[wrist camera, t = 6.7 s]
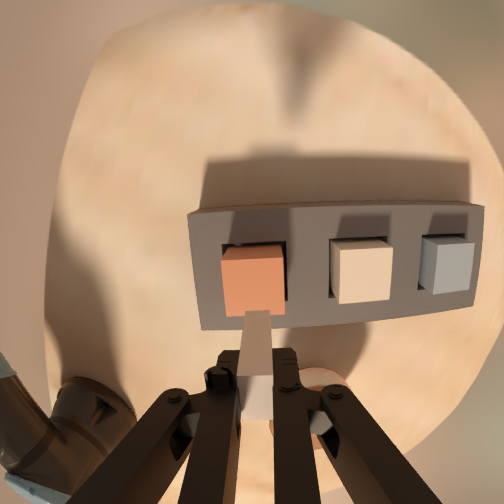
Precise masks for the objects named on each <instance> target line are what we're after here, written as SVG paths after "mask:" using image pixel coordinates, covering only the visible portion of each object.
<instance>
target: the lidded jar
mask: <svg viewBox="0 0 504 504" xmlns="http://www.w3.org/2000/svg"><path fill="white" fill-rule="evenodd" d="M299 375H300V381H301V383H302V385H303V386H304V387H306V388H308V389H310V390H314V391H321V390H322V389H323V388H324V387H325V386H328V385H331V384H341V385H344V386H347V387H348V388H349V389H350V390H351V388H350V387H349V385H348V384H347V382H346V381H345V380H344V379H343V378H342V377H341V376H340V375H338V374H337V373H335V372H333V371H331V370H328V369H325V368H319V367H311V368H305V369H301V370H299ZM351 391H352V390H351ZM270 431H271V433H272V435H273V420H270ZM311 438H312V444H313V450H316V449H321V448H323V447H322V445H321V444H320V442H319V440H318V438H317V435H316V434H312V433H311Z"/></svg>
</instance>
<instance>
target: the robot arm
mask: <svg viewBox="0 0 504 504" xmlns="http://www.w3.org/2000/svg"><path fill="white" fill-rule="evenodd" d="M16 374H17V373H16V371H14V370H13V369H12V368H11V367H10V365H9V363H8V362H7V360H6V359H5V357H4V356H3V355H2V353H1V352H0V464H1V465H2V466H3V467H4V468H5V469H6V470H7V473H5V478H4V479H5V482H6V483H7V484H8V485H9V486H10V487H11V488H12V489H13V490H14V491H15V492H17V493H18V494H19V495H21V496H22V497H23V498H25V499H26V500H28V501H29V502H31V503H33V504H158V502H159V501H160V499H161V498H162V496H163V495H164V493H165V492H166V490H167V488H168V487H169V485H170V484H171V482H172V481H173V479H174V477H175V476H176V474H177V473H178V471H179V469H180V468H181V466H182V465H183V463H184V461H185V460H186V458H187V456H188V455H189V453H190V455H189V459H188V463H187V467H186V472H185V476H184V480H183V484H182V488H181V492H180V496H179V500H178V504H234V503H235V492H236V481H237V470H238V459H239V448H240V436H241V422H240V420H273V437H274V498H275V504H321V500H320V492H319V485H318V478H317V471H316V464H315V457H314V451H313V444H312V438H311V433H312V434H316V435H317V438H318V440H319V442H320V444H321V445H322V447H323V449H324V451H325V453H326V455H327V456H328V458H329V460H330V462H331V464H332V465H333V467H334V469H335V471H336V472H337V474H338V476H339V478H340V480H341V481H342V483H343V485H344V487H345V488H346V490H347V492H348V494H349V495H350V497H351V499H352V501H353V502H354V504H442V503H441V501H440V500H439V499H438V498H437V496H436V495H435V494H434V493H433V492H432V491H431V489H430V488H429V487H428V485H427V484H426V483H425V482H424V481H423V479H422V478H421V477H420V476H419V475H418V473H417V472H416V471H415V469H414V468H413V467H412V466H411V465H410V464H409V462H408V461H407V460H406V458H405V457H404V456H403V455H402V453H401V452H400V451H399V450H398V449H397V447H396V446H395V445H394V444H393V442H392V441H391V440H390V439H389V437H388V436H387V435H386V434H385V432H384V431H383V430H382V429H381V427H380V426H379V425H378V424H377V422H376V421H375V420H374V419H373V417H372V416H371V415H370V414H369V412H368V411H367V410H366V409H365V407H364V406H363V405H362V404H361V402H360V401H359V400H358V399H357V397H356V396H355V395H354V394H353V392H352V391H351V390H350V389H349V388H348V387H347V386H344V385H341V384H331V385H328V386H325V387H324V388H323V389H322V390H321V391H314V390H310V389H308V388H306V387H304V386H303V385H302V383H301V381H300V375H299V369H298V364H297V358H296V352H295V351H294V350H293V349H292V348H272V338H271V317H270V310H259V311H245V317H244V325H243V332H242V339H241V347H240V350H224V351H223V352H222V353H221V354H220V355H219V356H218V360H217V364H216V366H214V367H211V368H209V369H208V370H206V372H205V373H204V377H205V383H206V388H207V389H206V391H204V392H202V393H198V394H193V395H189V394H188V392H187V391H186V390H183V389H180V388H173V389H169V390H166V391H164V392H163V393H162V394H161V395H160V396H159V397H158V398H157V400H156V401H155V402H154V403H153V404H152V405H151V407H150V408H149V409H148V410H147V411H146V412H145V414H144V415H143V416H142V417H141V418H140V419H139V421H138V422H136V419H135V417H134V415H133V413H132V411H131V410H130V408H129V407H128V406H127V405H126V404H125V402H124V401H123V400H122V399H121V398H120V397H118V396H117V395H116V394H115V393H114V392H112V391H111V390H110V389H108V388H107V387H105V386H103V385H101V384H100V383H98V382H95V381H93V380H90V379H87V378H82V377H74V378H70V379H68V380H67V381H66V382H65V383H64V384H63V385H62V387H61V388H60V389H59V391H58V394H57V400H56V402H55V405H54V408H53V411H52V415H51V417H50V418H48V417H47V416H46V414H45V413H44V412H43V411H42V409H41V408H40V407H39V406H38V405H37V403H36V402H35V401H34V399H33V398H32V397H31V395H30V394H29V392H28V391H27V389H26V388H25V387H24V386H23V384H22V382H21V381H20V380H19V378H18V376H17V375H16Z"/></svg>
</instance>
